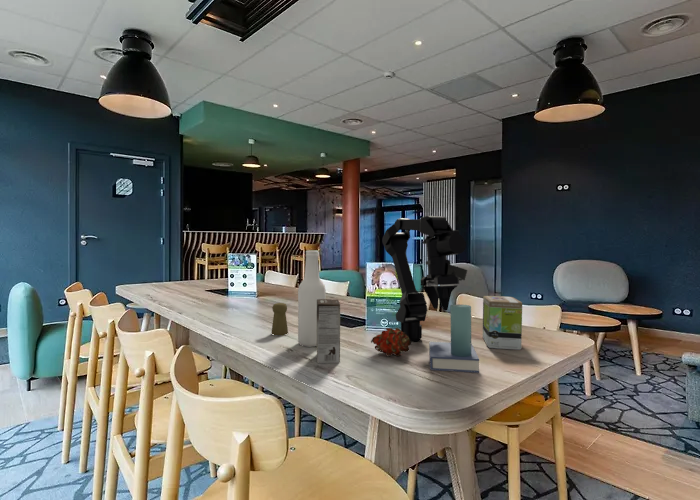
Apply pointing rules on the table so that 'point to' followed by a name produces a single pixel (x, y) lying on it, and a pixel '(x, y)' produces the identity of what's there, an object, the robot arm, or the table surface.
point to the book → (451, 359)
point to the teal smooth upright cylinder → (460, 330)
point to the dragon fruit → (392, 342)
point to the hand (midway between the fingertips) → (440, 309)
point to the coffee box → (328, 331)
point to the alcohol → (309, 300)
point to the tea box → (502, 322)
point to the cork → (279, 319)
